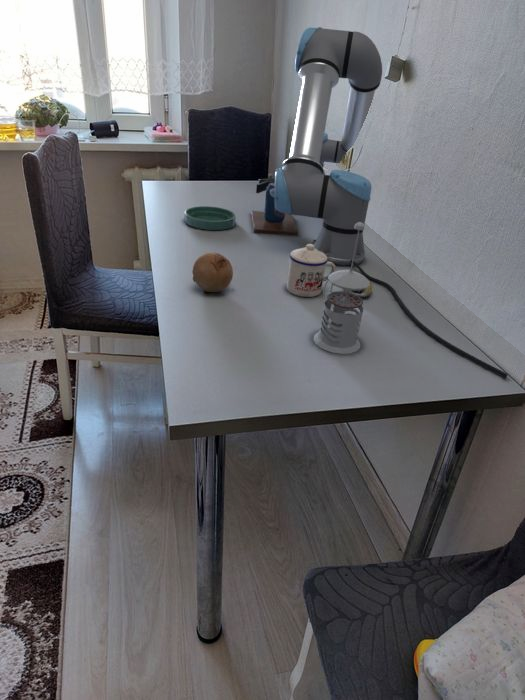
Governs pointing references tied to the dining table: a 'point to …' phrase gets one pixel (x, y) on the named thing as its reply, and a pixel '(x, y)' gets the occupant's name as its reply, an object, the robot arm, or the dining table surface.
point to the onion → (212, 272)
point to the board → (273, 225)
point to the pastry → (362, 291)
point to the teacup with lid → (307, 271)
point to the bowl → (209, 218)
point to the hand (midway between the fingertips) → (276, 193)
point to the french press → (342, 310)
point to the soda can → (272, 206)
